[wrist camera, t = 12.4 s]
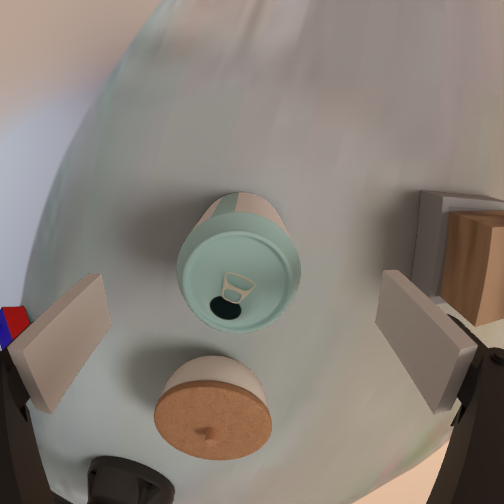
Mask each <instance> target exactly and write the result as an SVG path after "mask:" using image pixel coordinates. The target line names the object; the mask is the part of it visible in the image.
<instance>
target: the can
mask: <svg viewBox="0 0 504 504" xmlns="http://www.w3.org/2000/svg"><path fill="white" fill-rule="evenodd" d="M300 277H301V265H300V259H299V255H298V252H297V249H296V247H295V245H294V243H293V241H292V239H291V237H290V236H289V234H288V232H287V230H286V228H285V226H284V224H283V222H282V221H281V219H280V217H279V215H278V213H277V212H276V210H275V209H274V207H273V206H272V205H271V204H270V203H269V202H267V201H266V200H265V199H263V198H261V197H259V196H257V195H254V194H251V193H244V192H239V193H232V194H228V195H226V196H223V197H221V198H219V199H218V200H217V201H215V202H214V203H213V204H212V205H211V206H210V207H209V208H208V210H207V211H206V212H205V214H204V215H203V216H202V218H201V219H200V220H199V222H198V223H197V224H196V226H195V227H194V228H193V230H192V231H191V232H190V234H189V235H188V237H187V238H186V240H185V241H184V243H183V245H182V247H181V249H180V252H179V255H178V260H177V279H178V284H179V287H180V290H181V293H182V295H183V297H184V299H185V300H186V302H187V304H188V306H189V307H190V309H191V310H192V312H193V313H194V314H195V315H196V316H197V317H198V318H199V319H200V320H201V321H202V322H204V323H205V324H207V325H208V326H210V327H212V328H214V329H217V330H219V331H223V332H227V333H235V334H242V333H250V332H254V331H258V330H260V329H263V328H265V327H267V326H268V325H270V324H272V323H273V322H274V321H276V320H277V319H278V318H279V317H280V316H281V315H282V313H283V312H284V311H285V309H286V308H287V307H288V306H289V304H290V303H291V302H292V300H293V298H294V296H295V294H296V292H297V289H298V286H299V283H300Z"/></svg>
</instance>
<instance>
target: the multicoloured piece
mask: <svg viewBox="0 0 504 504" xmlns="http://www.w3.org/2000/svg"><path fill="white" fill-rule="evenodd" d="M29 324H30V322H29V319H28V316H27V314H26V311H25V308H24V306H23V307H2V308H1V310H0V345H1V348H2V350H3V349H4V348H5V347H6V346H7V345H8V344H9V343H10V342H11V341H12V340H13V339H14V338H15V337H17V335H18V334H19V333H20V332H23V330H24V329H25V328H26V327H27V326H28V325H29Z"/></svg>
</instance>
